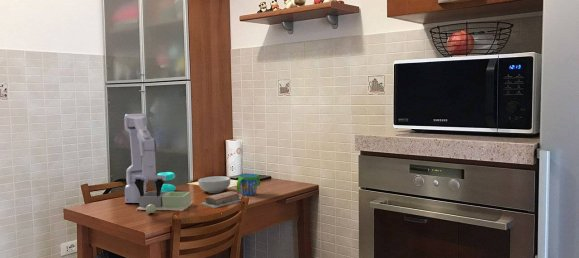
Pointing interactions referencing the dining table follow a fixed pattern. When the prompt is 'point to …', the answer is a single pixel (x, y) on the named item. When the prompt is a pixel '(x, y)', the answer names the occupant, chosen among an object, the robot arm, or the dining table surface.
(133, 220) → the dining table surface
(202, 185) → the cereal bowl
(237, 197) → the packaged product
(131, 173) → the robot arm
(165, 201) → the two-tone hollow container
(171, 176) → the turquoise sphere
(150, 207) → the ball
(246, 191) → the snack cup
